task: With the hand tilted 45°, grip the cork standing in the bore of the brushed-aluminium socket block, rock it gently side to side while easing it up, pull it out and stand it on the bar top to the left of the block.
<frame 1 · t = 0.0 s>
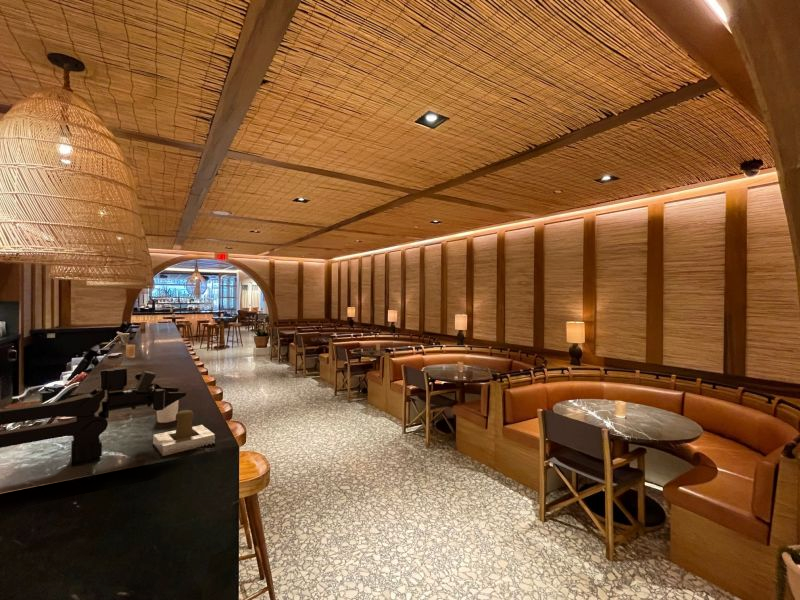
hand: (182, 391, 126), 17 cm above the table, tool horizontal, fingers open, 9 cm apart
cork: (184, 444, 122), resting in socket block
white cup: (167, 420, 147), on the table
socket block: (184, 443, 122), on the table
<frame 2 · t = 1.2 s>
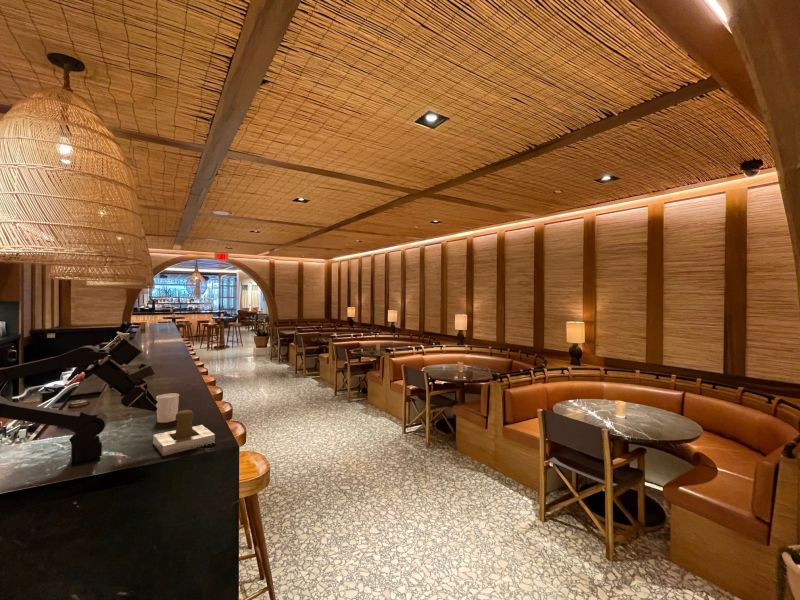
hand: (156, 406, 118), 14 cm above the table, tool tilted 45°, fingers open, 9 cm apart
nothing on the table moved.
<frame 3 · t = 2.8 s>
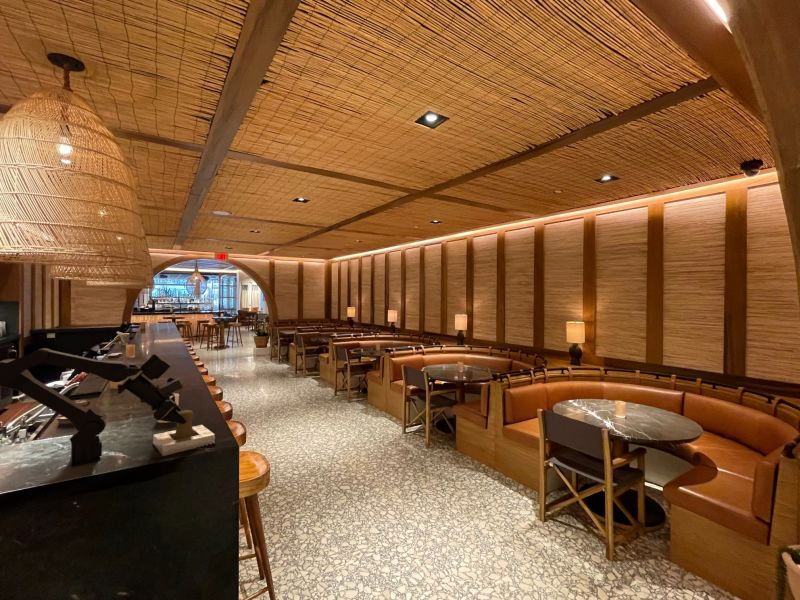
hand: (184, 419, 122), 8 cm above the table, tool tilted 45°, fingers open, 9 cm apart
nothing on the table moved.
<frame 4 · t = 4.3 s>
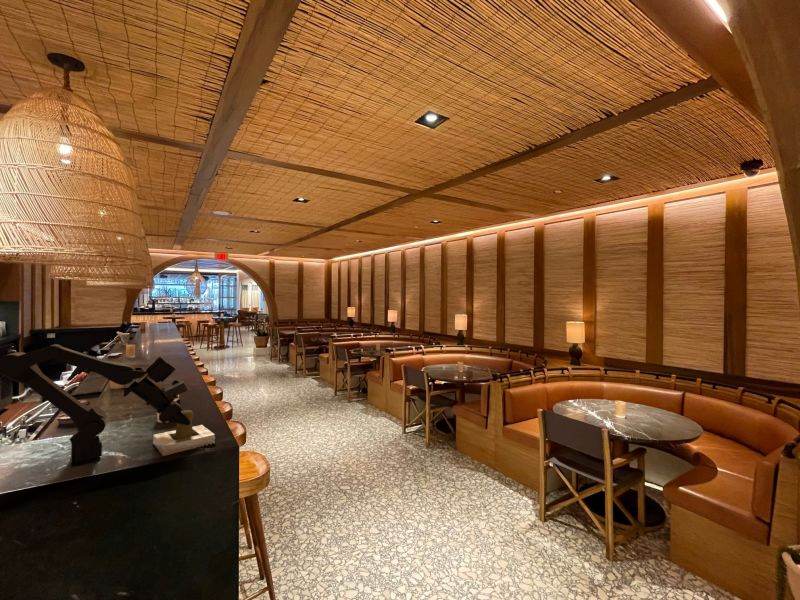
hand: (189, 421, 123), 7 cm above the table, tool tilted 45°, fingers closed on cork, 5 cm apart
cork: (184, 444, 122), resting in socket block, touching gripper
everything else where it was.
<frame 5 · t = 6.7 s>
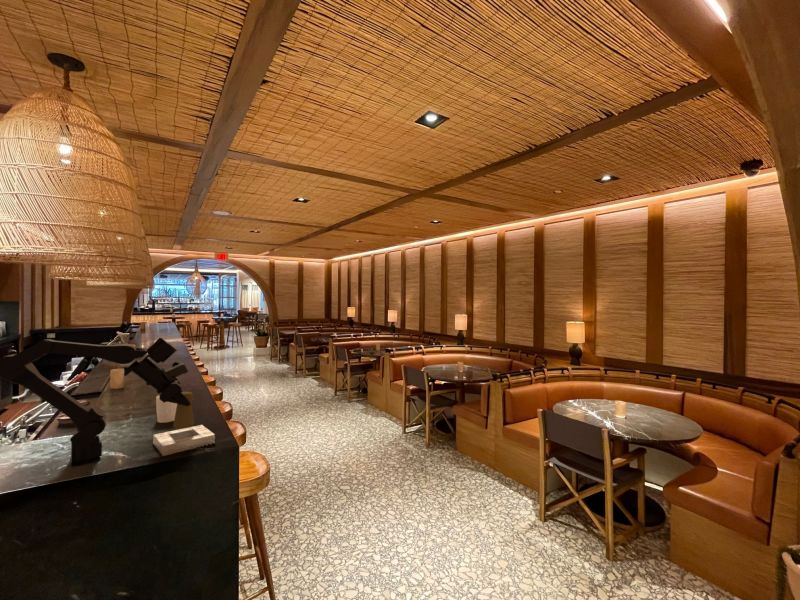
hand: (189, 403, 123), 13 cm above the table, tool tilted 45°, fingers closed on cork, 5 cm apart
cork: (183, 425, 122), point 6 cm above the table, touching gripper
everything else where it was.
when the fingers open (8 cm above the table, at t = 9.3 s): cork drops 1 cm, on the table.
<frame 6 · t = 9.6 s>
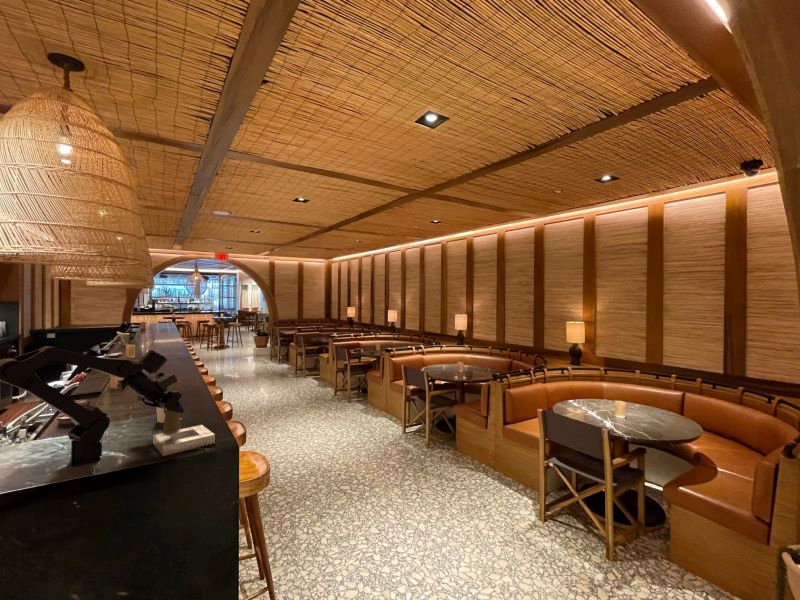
hand: (176, 410, 131), 9 cm above the table, tool tilted 45°, fingers open, 8 cm apart
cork: (171, 435, 130), on the table
everything else where it was.
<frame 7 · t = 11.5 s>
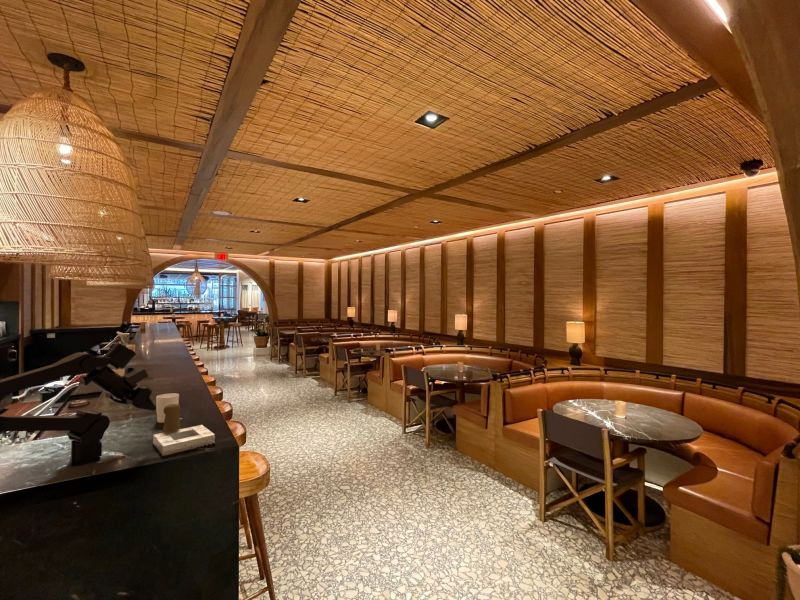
hand: (147, 407, 123), 12 cm above the table, tool tilted 45°, fingers open, 9 cm apart
nothing on the table moved.
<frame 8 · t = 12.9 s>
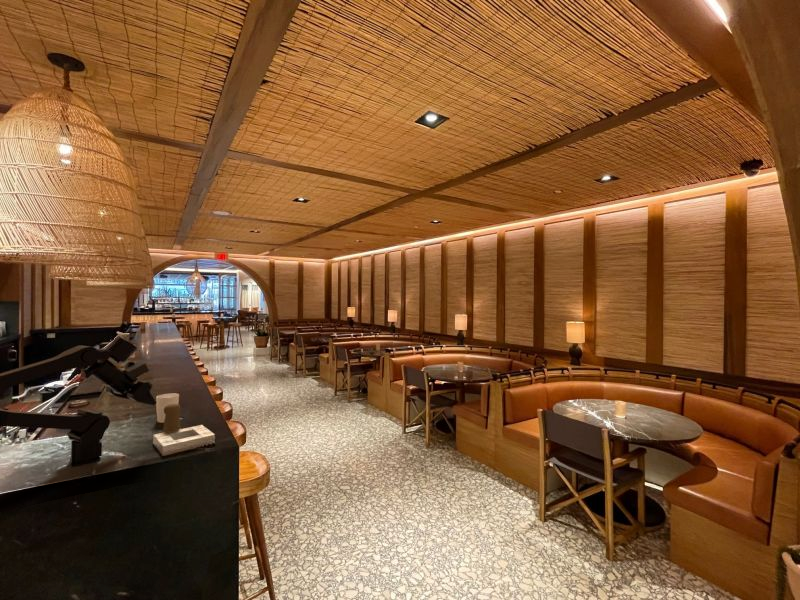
hand: (148, 402, 123), 14 cm above the table, tool tilted 45°, fingers open, 9 cm apart
nothing on the table moved.
at the end: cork inside the target area (0.2 cm from its centre), on the table; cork tilted 0°; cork touching table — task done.
